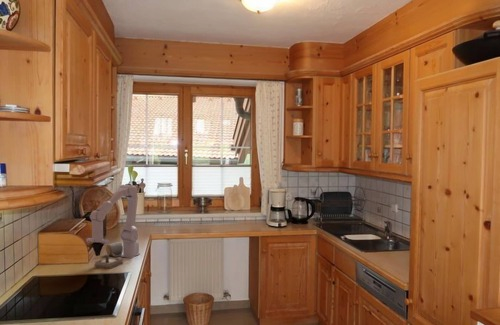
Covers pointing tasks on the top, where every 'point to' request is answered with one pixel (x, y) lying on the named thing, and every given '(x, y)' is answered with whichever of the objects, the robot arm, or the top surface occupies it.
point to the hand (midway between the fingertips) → (97, 255)
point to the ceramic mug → (114, 249)
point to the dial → (108, 260)
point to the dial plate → (108, 265)
